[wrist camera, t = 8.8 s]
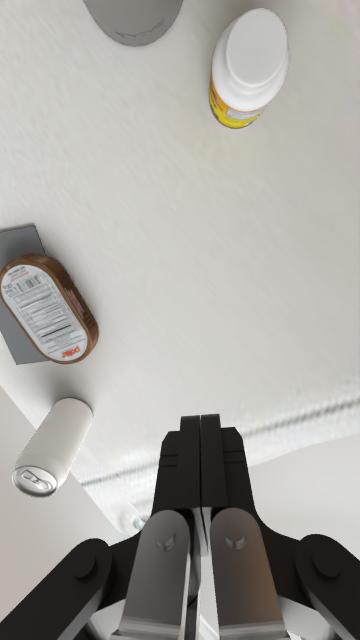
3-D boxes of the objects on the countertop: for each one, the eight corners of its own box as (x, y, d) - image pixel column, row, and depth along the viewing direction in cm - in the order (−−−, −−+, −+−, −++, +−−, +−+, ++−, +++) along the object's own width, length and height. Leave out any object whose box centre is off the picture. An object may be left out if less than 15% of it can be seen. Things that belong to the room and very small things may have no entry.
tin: (48, 242, 34) (-3, 268, 36) (33, 247, 31) (-22, 275, 34) (110, 344, 39) (62, 361, 42) (102, 356, 37) (50, 374, 39)
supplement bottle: (213, 56, 27) (221, -19, 17) (272, 64, 26) (313, -7, 17) (204, 127, 29) (207, 95, 19) (258, 134, 29) (287, 106, 19)
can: (78, 434, 47) (41, 507, 36) (46, 411, 45) (-3, 480, 34) (102, 413, 45) (71, 484, 34) (69, 389, 43) (26, 455, 32)
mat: (-41, 239, 35) (-42, 240, 35) (35, 225, 34) (33, 226, 33) (17, 363, 42) (16, 364, 42) (81, 355, 41) (80, 356, 40)
